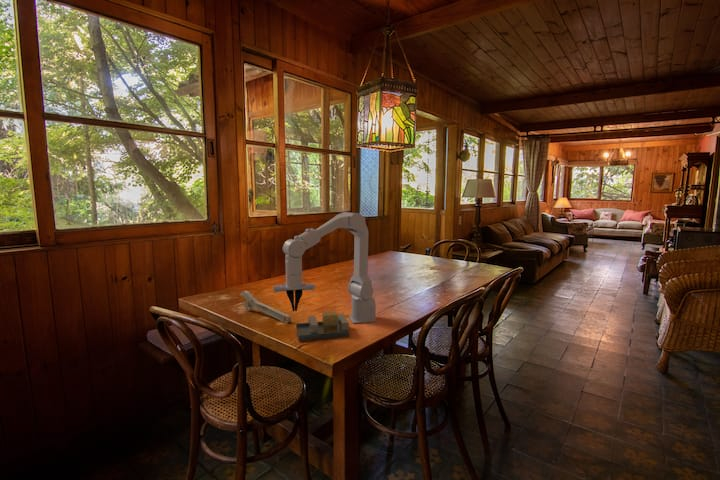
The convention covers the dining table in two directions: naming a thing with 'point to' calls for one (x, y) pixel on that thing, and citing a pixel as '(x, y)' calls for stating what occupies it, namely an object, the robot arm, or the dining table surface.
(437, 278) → the dining table surface
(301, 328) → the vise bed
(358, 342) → the dining table surface
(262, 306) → the wrench
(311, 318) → the bar
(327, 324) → the brass block
